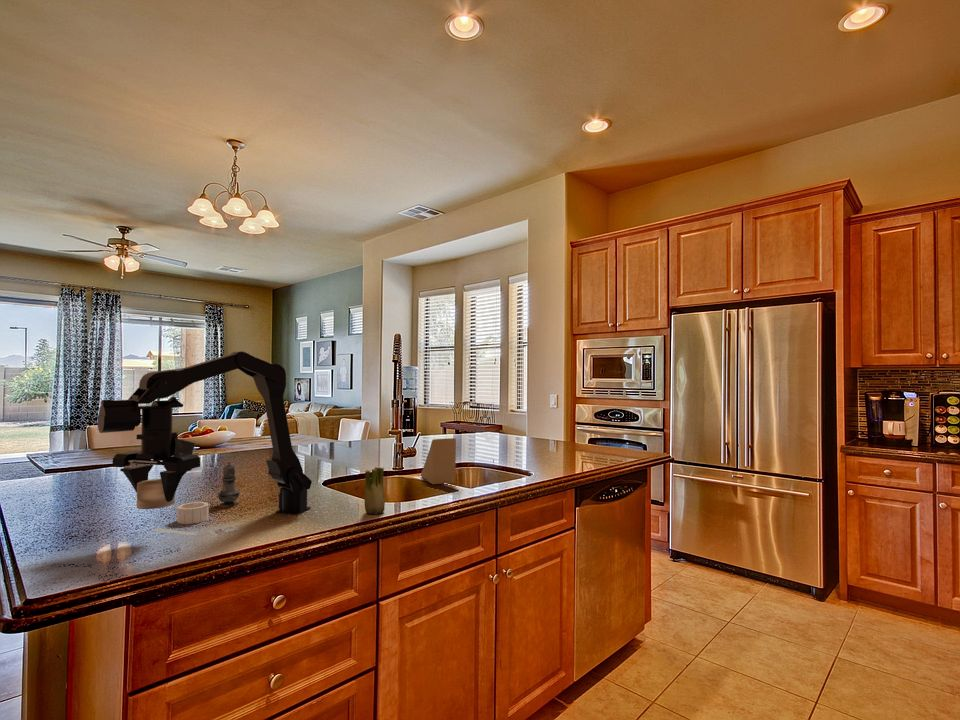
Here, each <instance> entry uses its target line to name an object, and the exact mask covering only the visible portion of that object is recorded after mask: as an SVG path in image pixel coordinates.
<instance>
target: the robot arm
mask: <svg viewBox="0 0 960 720" xmlns="http://www.w3.org/2000/svg"><path fill="white" fill-rule="evenodd" d="M235 370H239V371H240V372H242V373H243V374H245V375H247V376H249V377H251V378H252V379H253V382H254V384H255V387H256V389H257V391H258V393H259V394H260V395H261V397H262V399H263V401H264V402H263V403H264V407H265V412H266V417H267V418H266V419H267V423H268V429H269V436H270V441H271V446H272V454H271V455H272V456H271V458H270V459H266V461H265V462H266V465H267V467H268V472H267V475H269V476H270V477H271V479H272V480H274V481H275V482H276V485H277V487H278V488H279V493H278V510H276V511H275V514H282V515H283V514H284V515H293V516H295V515H299V514H301V513H304V512H307V511H308V510H311V506H308V490H310V489H311V485H312V483H313V481H312V480H311V478H309V476H307V475H306V473H304V469H303V467H302V464H301V461H300V458H299V457H298V455H297V454H296V452H295V451H294V449H293V444H292V439H291V434H290V428H289V421H288V415H287V410H286V405H285V399H284V395H285V391H286V388H287V372H286V369H285V368H284V367H283V366H282V365H281V364H278V363H270V362H268V361H265V360H263V359H261V358H258V357H256V356H254V355H251V354H250V353H248V352H246V351H244V350H243V351H240V350H239V351H233V352H231V353H230V354H226V355H224V356H219V357H217V358H212V359H208V360H206V361H203V362H199V363H195V364H193V365H190V366H185V367H182V368H174V369H165V370H157V371H151V372H147V373H145V374H143V375H142V377H141V379H140V380H139V386H138V388H136V390H134V392H133V393H132V394H131V395H130V397H128V399H116V400H115V399H113V400H112V399H101V401H100V407H99V410H98V414H97V417H96V419H97V422H96V423H97V429H98V432H99V433H100V434H104V433H105V434H107V433H117V432H118V433H120V432H132V431H134V430H135V428H136V427H139V426H140V425H141V432H140V433H137V434H136V440H141V441H140V442H141V445H140V446H141V448H140V450H130V451H125V452H119V453H116V454H115V455H114V456H113V457H112V467H113V468H119V470H120V472H123V474H124V476H125V477H126V478H127V480H128V482H130V484H131V486H132V487H133V489H134V491H135V492H136V494H137V483H139V482H141V481H145V480H149V474H150V472H151V470H152V468H153V467H154V466H163V468H164V469H165V470H163V471H159V475H160V479H161V481H162V485H163V490H164V495H165V498H166V501H167V502H170V501H172V500H173V497H174V495H175V496H176V492H177V489H178V487H179V484H180V482H181V480H182V478H183V476H185V474H187V472H190V471H192V470H193V469H196V468H197V469H198V468H200V467H201V457H200V455H198V454H195V453H194V449H195V447H196V443H195V442H191V441H188V440H184V439H179V434H178V431H176V432H175V431H173V412H174V411H173V408H174V409H175V408H183V407H184V403H182V402H181V401H179V400H178V399H177V397H176V396H173V395H175V394H176V393H179V392H180V391H182V390H184V389H185V388H187V387H189V386H190V385H193V384H194V383H197V382H200V381H203V380H206V379H210V378H213V377H216V376H219V375H222V374H226V373H228V372H232V371H235ZM168 397H169V399H167V398H168ZM158 399H162V400H158ZM163 399H165V400H163ZM166 399H167V400H166ZM146 404H148V405H146ZM150 404H151V405H150Z"/></svg>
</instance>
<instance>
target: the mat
mask: <svg viewBox="0 0 960 720" xmlns="http://www.w3.org/2000/svg"><path fill="white" fill-rule="evenodd" d="M151 531H153V532H163V533H172V534H180V535H181V534H182V535H188V536H189V535H191V536H195V535H198V534H200V533H199V532H192V531H184V530H176V529H167V528H155V529H152V530H151Z"/></svg>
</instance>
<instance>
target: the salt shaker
mask: <svg viewBox="0 0 960 720" xmlns="http://www.w3.org/2000/svg"><path fill="white" fill-rule="evenodd" d="M235 471H236V468H235V466H234V465H232V464H231V462H229V461H228V463H227V465H226V466H224V467H223V471H222V472H223V473H222V474H223V477H222V478H221V480H222V488H221V491H218V492H217V493H216V495H217V497H218V500H219V501H220V502H221V503H219V505H218V506H219V507H222V508H223V507H226V508H227V507H235V506H238V505H239V504H240V503H239V502H237V499H239V496H240V493H241V490H240V489H239V490H238V489H236V479H237V477H235V473H236V472H235Z"/></svg>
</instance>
